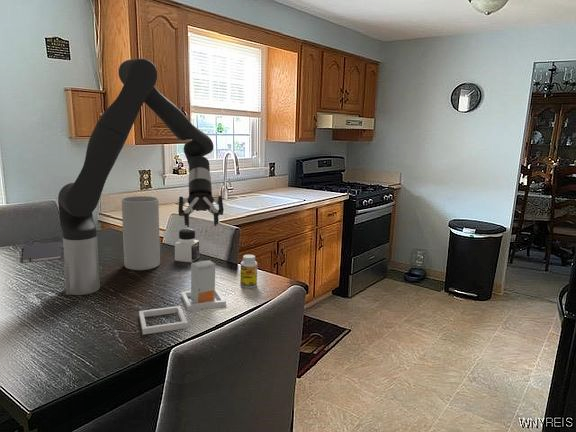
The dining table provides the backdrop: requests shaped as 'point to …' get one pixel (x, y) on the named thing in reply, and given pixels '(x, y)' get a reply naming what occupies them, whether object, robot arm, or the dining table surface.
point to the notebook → (41, 252)
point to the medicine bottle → (187, 246)
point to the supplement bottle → (248, 272)
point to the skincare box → (202, 282)
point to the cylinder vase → (141, 232)
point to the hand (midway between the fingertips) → (201, 225)
